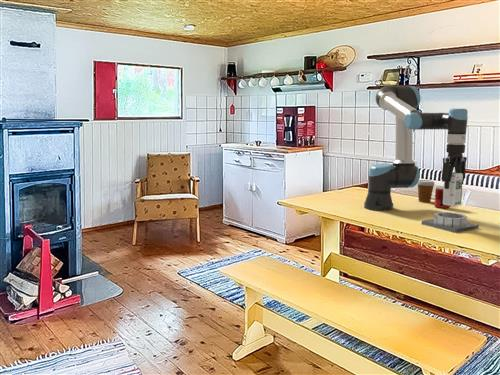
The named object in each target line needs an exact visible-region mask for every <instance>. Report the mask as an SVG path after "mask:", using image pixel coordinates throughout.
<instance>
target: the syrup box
mask: <svg viewBox="0 0 500 375" xmlns="http://www.w3.org/2000/svg"><path fill="white" fill-rule="evenodd" d="M444 178H445V177H444ZM450 182H452V183H451V196H450V197H449V196H444V191H445V188H444V191H443V204H444V205H448V206H450V207H456V206H461V205H462V197H463V195H462V194H463V174H462V173H456V172H455V171H453V173H452V176H451V180H450ZM444 186H445V181H443V187H444Z"/></svg>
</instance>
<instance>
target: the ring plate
mask: <svg viewBox="0 0 500 375" xmlns="http://www.w3.org/2000/svg"><path fill="white" fill-rule="evenodd" d="M421 225H424V226H429V227H433V228H436V229H440V230H443V231H447V232H452V233H461V232H466V231H471V230H478V229H479V228H480V225H479V224H475V223H471V222H468V216H467V215H465V214H463V213H458V212H451V211H449V212H448V211H438V212H435V213H434V214H433V218H430V219H425V220H421Z"/></svg>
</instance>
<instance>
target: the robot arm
mask: <svg viewBox="0 0 500 375" xmlns="http://www.w3.org/2000/svg"><path fill="white" fill-rule="evenodd" d="M421 98H422V97H421V92H420V91H419V89H418V88H417V87H416V86H413V85H385V86H383V87H381V88H380V89H379V90H378V91H377V93H376V95H375V103H376V105H377V106H378V107H379V108H381V110H384V111H388V112H390V113H392V114H393V115H394V116H395V160H394V161H393V162H392V164H391V163H378V164H372V165H371V166H370V167H369V171H368V183H367V184H368V187H367V195H366V198H365V200H364V204H363V207H364V209H368V210H372V211H392V210H393V209H394V203H393V200H392V196H391V195H392V194H391V192H392V189H409V188H414V187H415V186H416V185H418V184H417V183H418V181H419V180H420V179H421V178H420V177H421V171H420V168H419V167H418V166H417V165H416V162H415V160H413V131H417V130H420V131H421V130H447V135H446V136H447V138H446V143H447V144H446V149H445V150H446V151H445V152H446V153H447V156H446V157H443V158H442V171H441V179H440V180H441V181H442V182H444V181H445V186H444V185H443V187H444V188H445V191H444V196H449V197H450V196H451V183H452V182H450V180H451V176H452V173H453V172H456V173H462V174H463V181H465V179H466V169H467V167H466V166H467V160H468V157H467V156H463V154H464V153H465V151H466V145H465V143H466V139H467V138H466V137H467V127H468V119H469V117H468V109H466V108H450V109H449V112H422V111H420V110H418V109H417V108H418V107H419V106H420V104H421ZM444 177H445V178H444ZM463 181H462V182H463Z"/></svg>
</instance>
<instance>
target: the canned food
mask: <svg viewBox="0 0 500 375" xmlns="http://www.w3.org/2000/svg"><path fill="white" fill-rule="evenodd" d="M443 191H444V185H443V186H435V192H434V193H435V194H434V195H435V196H434V208H435V209H441V210H449V209H450V207H451V206H448V205H444V204H443Z"/></svg>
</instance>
